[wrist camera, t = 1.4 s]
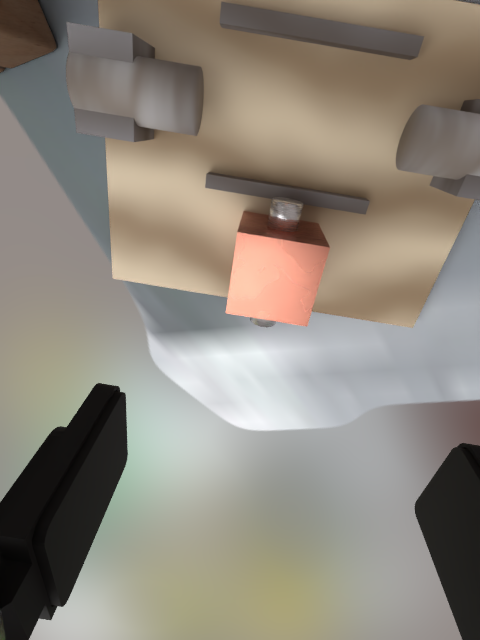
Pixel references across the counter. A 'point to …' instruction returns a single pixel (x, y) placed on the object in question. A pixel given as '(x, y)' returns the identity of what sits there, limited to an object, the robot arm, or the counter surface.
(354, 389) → the counter surface
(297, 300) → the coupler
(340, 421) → the counter surface
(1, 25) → the brown long handled part
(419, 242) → the jig
